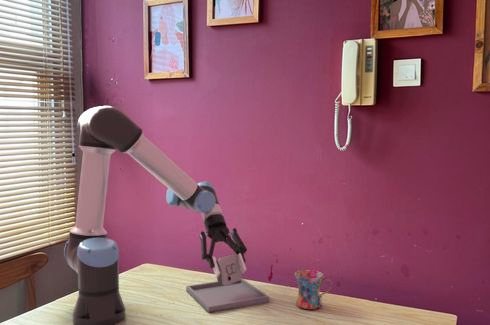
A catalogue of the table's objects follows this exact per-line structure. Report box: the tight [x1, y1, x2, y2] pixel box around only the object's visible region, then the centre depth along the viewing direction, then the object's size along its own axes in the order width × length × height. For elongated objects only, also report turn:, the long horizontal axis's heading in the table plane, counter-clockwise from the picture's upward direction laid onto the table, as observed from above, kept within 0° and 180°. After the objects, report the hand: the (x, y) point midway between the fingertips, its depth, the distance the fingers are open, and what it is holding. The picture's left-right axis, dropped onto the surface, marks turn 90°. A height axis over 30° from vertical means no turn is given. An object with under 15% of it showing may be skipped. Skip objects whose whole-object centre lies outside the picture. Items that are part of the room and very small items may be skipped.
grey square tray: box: [185, 278, 270, 314], centre depth 155 cm, size 22×22×2 cm
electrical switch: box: [216, 253, 243, 286], centre depth 155 cm, size 9×5×9 cm, turn 141°
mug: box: [294, 269, 333, 310], centre depth 147 cm, size 12×9×11 cm
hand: (231, 273), depth 152 cm, fingers closed on electrical switch, 9 cm apart
